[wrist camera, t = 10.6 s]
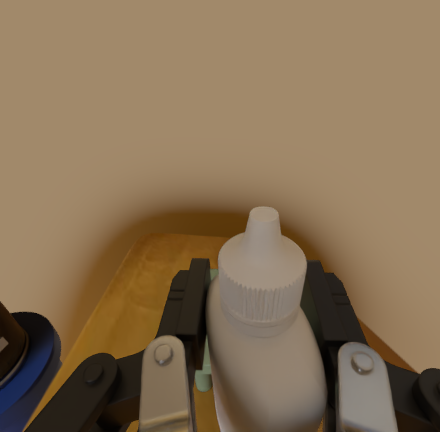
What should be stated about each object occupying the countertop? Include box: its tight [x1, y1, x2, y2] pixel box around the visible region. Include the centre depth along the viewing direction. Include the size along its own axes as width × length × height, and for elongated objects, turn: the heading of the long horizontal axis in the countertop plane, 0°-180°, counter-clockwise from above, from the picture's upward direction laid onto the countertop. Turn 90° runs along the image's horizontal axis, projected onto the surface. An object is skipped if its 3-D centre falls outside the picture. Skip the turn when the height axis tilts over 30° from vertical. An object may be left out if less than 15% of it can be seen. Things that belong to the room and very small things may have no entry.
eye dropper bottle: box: [205, 206, 328, 432], centre depth 10 cm, size 4×6×12 cm
